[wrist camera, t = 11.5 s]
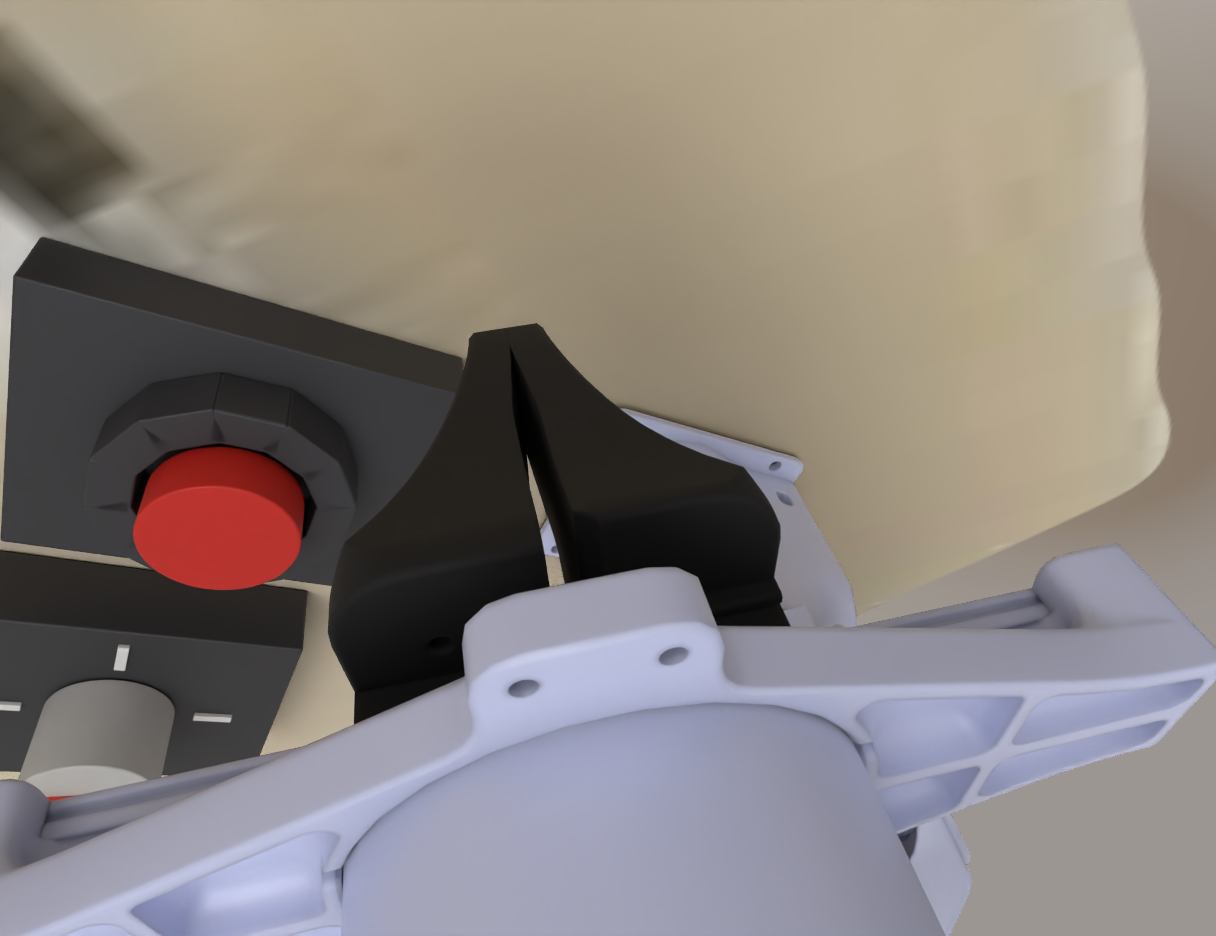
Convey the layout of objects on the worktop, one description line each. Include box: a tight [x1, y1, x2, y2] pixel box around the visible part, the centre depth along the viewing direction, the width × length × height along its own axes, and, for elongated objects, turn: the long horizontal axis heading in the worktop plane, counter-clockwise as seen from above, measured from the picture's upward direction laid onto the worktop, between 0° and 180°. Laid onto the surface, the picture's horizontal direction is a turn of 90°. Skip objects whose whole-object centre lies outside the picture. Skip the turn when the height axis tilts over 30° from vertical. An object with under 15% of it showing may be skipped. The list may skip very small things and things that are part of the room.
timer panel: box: [0, 551, 307, 775], centre depth 31 cm, size 12×10×3 cm
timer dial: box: [18, 680, 175, 801], centre depth 29 cm, size 4×4×4 cm
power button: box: [133, 446, 305, 590], centre depth 23 cm, size 4×4×2 cm
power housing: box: [1, 238, 463, 586], centre depth 25 cm, size 12×10×4 cm
